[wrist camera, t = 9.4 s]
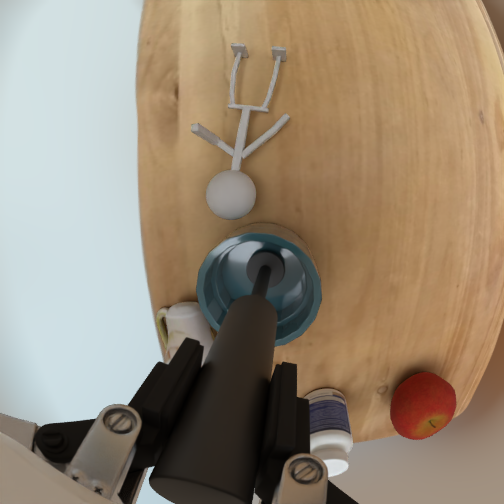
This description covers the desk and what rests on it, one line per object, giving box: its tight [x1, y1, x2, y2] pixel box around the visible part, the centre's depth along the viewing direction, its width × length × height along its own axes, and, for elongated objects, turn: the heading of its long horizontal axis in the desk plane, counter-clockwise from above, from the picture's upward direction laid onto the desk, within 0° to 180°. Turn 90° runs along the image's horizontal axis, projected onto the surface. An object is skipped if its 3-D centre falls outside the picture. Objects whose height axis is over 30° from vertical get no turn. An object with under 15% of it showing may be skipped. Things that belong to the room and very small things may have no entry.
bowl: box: [196, 223, 322, 347], centre depth 22 cm, size 9×9×5 cm
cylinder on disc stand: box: [149, 250, 285, 504], centre depth 14 cm, size 3×3×20 cm
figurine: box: [191, 43, 290, 220], centre depth 19 cm, size 6×6×15 cm
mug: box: [156, 302, 215, 367], centre depth 25 cm, size 8×10×10 cm
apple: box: [390, 372, 456, 440], centre depth 22 cm, size 8×8×8 cm
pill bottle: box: [304, 388, 353, 477], centre depth 23 cm, size 5×5×10 cm
